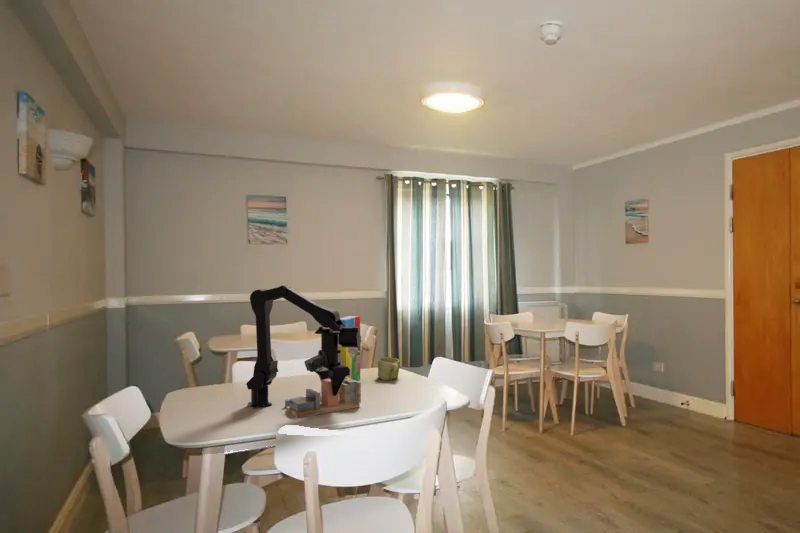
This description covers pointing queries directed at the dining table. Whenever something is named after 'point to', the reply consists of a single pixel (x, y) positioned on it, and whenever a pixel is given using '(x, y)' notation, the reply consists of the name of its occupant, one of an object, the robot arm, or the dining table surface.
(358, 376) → the game box
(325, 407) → the wooden toy block set
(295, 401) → the bookend
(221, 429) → the dining table surface
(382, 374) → the mug
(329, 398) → the salmon orange block
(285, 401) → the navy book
